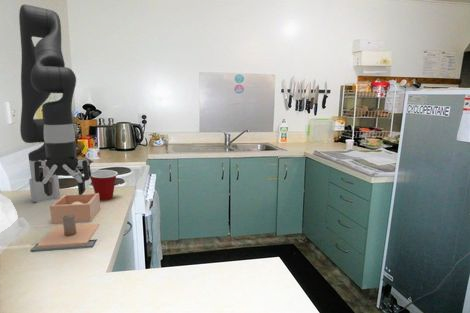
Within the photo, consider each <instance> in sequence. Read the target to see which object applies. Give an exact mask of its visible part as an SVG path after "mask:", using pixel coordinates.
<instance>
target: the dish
mask: <svg viewBox="0 0 470 313" xmlns="http://www.w3.org/2000/svg"><path fill="white" fill-rule="evenodd" d="M74 202H81V203H83V204H72V203H74ZM49 209H50V210H49V211H50V217H51V224H52V225H53V224H54V225H55V224H57V225H58V224H63V217H64V216H66V215H75V223H88V222H92V221H93V219H94V218H95V217H96V215H97V214H98V213H99V211H100V210H101V201H100V198H99V193H95V192H94V193H93V192H92V193H83V194H82V195H79V193H77V194H76V193H75V194H74V193H72V194H63V195H62V196H60V198H59V199H56V201H54V202H53V203H52V204H51V205H49Z"/></svg>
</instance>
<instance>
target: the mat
mask: <svg viewBox="0 0 470 313" xmlns="http://www.w3.org/2000/svg"><path fill="white" fill-rule="evenodd" d="M97 240H98V239H90V241H89V243H88V245H80V246H66V247H52V248H38V249H37V245H38V244H39V243H40V242H38V243H35V245H34V246H33V247H32V248H30V253H34V252H47V251H51V252H52V251H63V250H75V249H77V250H78V249H91V248H94V247H95V246H94V245H95V244H96V242H97Z"/></svg>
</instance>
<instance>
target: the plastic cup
mask: <svg viewBox="0 0 470 313" xmlns="http://www.w3.org/2000/svg"><path fill="white" fill-rule="evenodd" d="M117 177H118V171H116V170H111V169H100V170H99V169H97V170H93V171H91V178H90V181H91V183H92V187H93V190H94V193H99V198H100V202H104V201H110V200H112V199H114V191H115V184H116V178H117Z"/></svg>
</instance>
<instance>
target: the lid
mask: <svg viewBox="0 0 470 313" xmlns="http://www.w3.org/2000/svg"><path fill="white" fill-rule="evenodd" d="M76 223H77V222H75V215H66V216H64V217H63V223H62V225H58V226H56V225H55V227H54V228H52V230H51V231H50V232H49V233H48V234H47V235H46V236H45V237H44V238H43V239H42V240H41V241H40V242H38V243H39V244H38V243H37V244H38V245H37V249H38V248H52V247H66V246H80V245H88V243H89V241H90V240H92V239H91V238H92V237H93V235H94V234H95V232H96V231H97V230H98V228H99V226H100V223H92V224H91V223H89V224H76Z"/></svg>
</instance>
